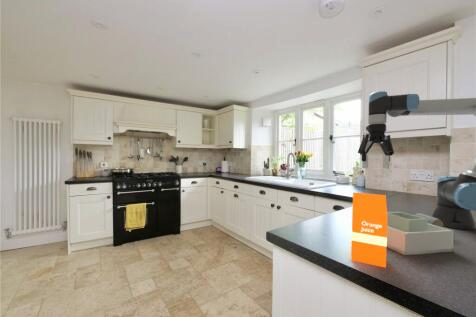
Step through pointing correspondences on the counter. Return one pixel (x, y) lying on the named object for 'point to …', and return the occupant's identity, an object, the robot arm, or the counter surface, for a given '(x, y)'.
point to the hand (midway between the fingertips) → (375, 168)
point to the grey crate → (421, 240)
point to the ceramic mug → (431, 220)
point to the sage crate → (406, 222)
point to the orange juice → (369, 229)
